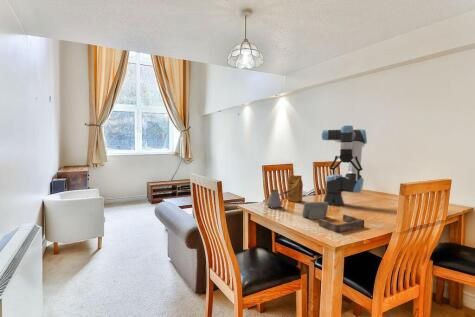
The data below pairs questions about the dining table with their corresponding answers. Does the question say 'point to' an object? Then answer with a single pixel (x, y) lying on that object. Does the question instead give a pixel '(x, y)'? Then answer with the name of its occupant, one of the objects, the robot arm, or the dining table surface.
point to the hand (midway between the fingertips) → (345, 180)
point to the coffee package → (295, 188)
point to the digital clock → (315, 210)
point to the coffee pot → (275, 199)
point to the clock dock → (350, 225)
